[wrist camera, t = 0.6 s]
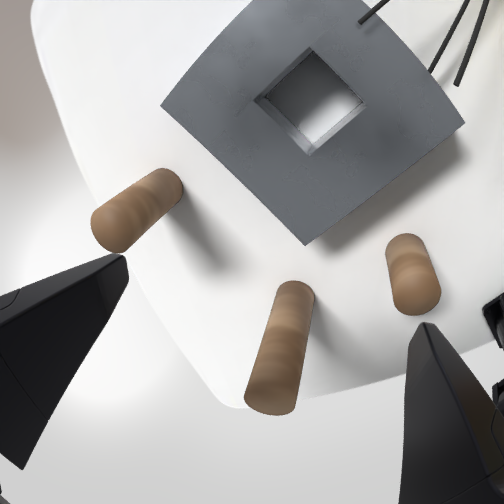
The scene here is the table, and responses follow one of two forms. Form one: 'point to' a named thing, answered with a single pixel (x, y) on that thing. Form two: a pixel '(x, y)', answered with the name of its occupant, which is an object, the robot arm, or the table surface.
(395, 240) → the short dowel
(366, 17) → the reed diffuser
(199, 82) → the hole plate
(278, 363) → the long dowel
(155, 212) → the medium dowel
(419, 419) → the robot arm
